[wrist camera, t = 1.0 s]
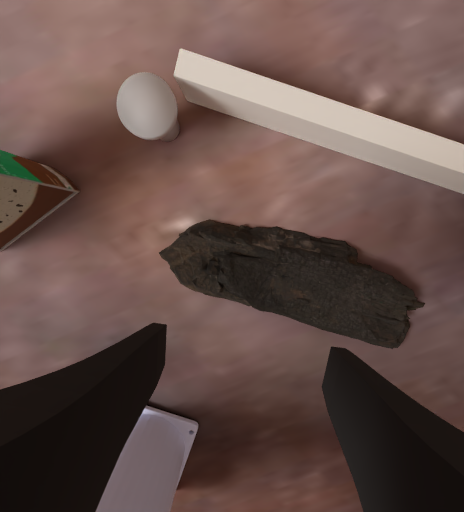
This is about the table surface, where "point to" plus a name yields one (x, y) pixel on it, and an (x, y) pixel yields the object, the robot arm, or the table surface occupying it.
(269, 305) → the wood
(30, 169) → the food container
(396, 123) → the cream long bar
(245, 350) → the table surface
